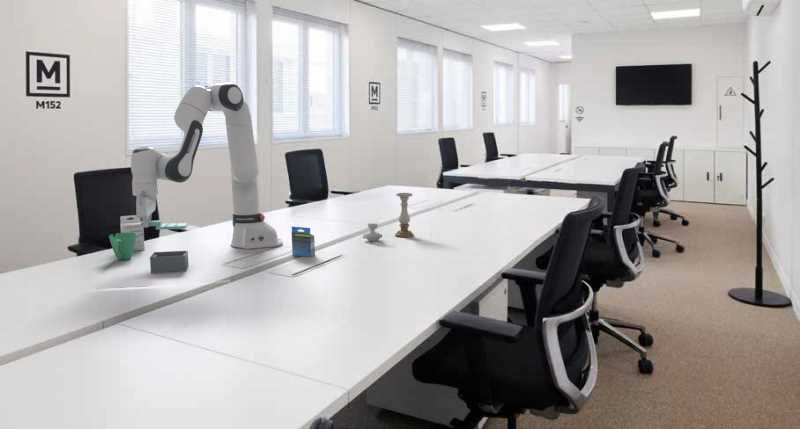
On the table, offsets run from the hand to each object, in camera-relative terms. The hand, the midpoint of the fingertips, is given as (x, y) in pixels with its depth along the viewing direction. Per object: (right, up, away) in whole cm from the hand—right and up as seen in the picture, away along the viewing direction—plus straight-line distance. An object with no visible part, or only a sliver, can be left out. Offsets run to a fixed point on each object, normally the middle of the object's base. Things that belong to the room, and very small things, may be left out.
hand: (147, 226), depth 238 cm
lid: (+6, -1, +1) cm, 6 cm away
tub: (+12, -17, -8) cm, 22 cm away
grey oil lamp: (+84, -8, +48) cm, 97 cm away
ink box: (-18, -11, +29) cm, 36 cm away
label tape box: (+57, -13, +19) cm, 61 cm away
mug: (-14, -14, +10) cm, 22 cm away
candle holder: (+99, -6, +60) cm, 116 cm away
